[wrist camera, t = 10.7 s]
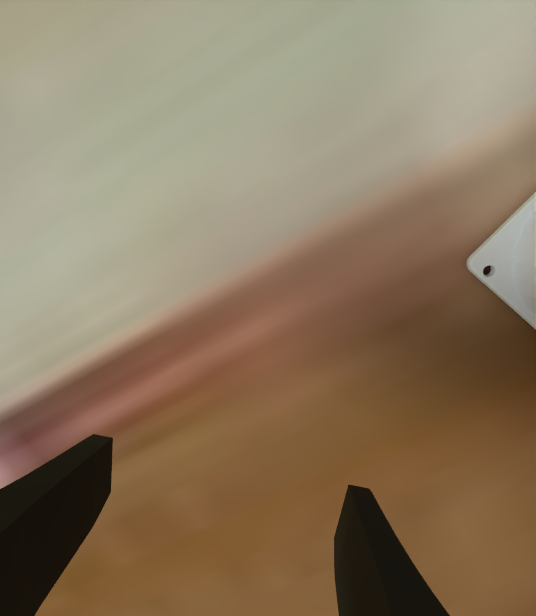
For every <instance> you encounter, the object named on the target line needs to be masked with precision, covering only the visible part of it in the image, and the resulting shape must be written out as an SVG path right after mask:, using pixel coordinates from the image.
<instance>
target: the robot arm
mask: <svg viewBox="0 0 536 616" xmlns="http://www.w3.org/2000/svg"><path fill="white" fill-rule="evenodd" d="M489 265H490V266H491V271H490V273H489V274H487V275H484V274H483V269H484V268H485V267H486V266H489ZM467 268H468V269H469V271H470V272H471V273H472V274H474V275H475V276H476V277H477V278H478V279H479V280H480V281H481V282H483V283H484V284H485V285H486V286H487V287H488V288H489V289H490V290H492V291H493V292H494V293H495V294H496V295H497V296H498V297H499V298H501V299H502V300H503V301H504V302H505V303H506V304H507V305H508V306H510V307H511V308H512V309H513V310H514V311H515V312H516V313H517V314H519V315H520V316H521V317H522V318H523V319H524V320H525V321H526V322H527V323H529V324H530V325H531V326H532V327H533V328H534V329H535V330H536V192H535V193H534V194H533V195H532V196H531V197H530V198H529V199H528V200H527V201H526V202H524V203H523V204H522V205H521V206H520V207H519V208H518V209H517V210H516V211H515V212H514V213H513V214H512V215H511V216H510V217H509V218H508V219H507V220H506V221H505V222H504V223H503V224H502V225H501V226H500V227H499V228H498V229H497V230H496V231H495V232H494V233H493V234H492V235H491V236H490V237H489V238H488V239H487V240H486V241H485V242H484V243H483V244H482V245H481V246H480V247H479V248H478V249H477V250H476V251H475V252H474V253H472V254H471V255H470V257H469V258H468V260H467ZM112 443H113V438H110V437H105V436H100V435H95V434H93V435H91V436H90V437H88V438H86V439H84V440H83V441H81V442H80V443H78V444H76V445H75V446H73V447H72V448H70V449H68V450H67V451H65V452H63V453H62V454H60V455H59V456H57V457H55V458H54V459H52V460H50V461H49V462H47V463H45V464H44V465H42V466H40V467H39V468H37V469H35V470H34V471H32V472H30V473H29V474H27V475H25V476H24V477H22V478H20V479H18V480H16V481H14V482H13V483H11V484H9V485H7V486H5V487H4V488H2V489H0V616H34V615H35V614H36V612H37V610H38V609H39V607H40V606H41V604H42V602H43V601H44V599H45V598H46V596H47V595H48V593H49V592H50V590H51V589H52V587H53V586H54V584H55V583H56V582H57V580H58V579H59V577H60V576H61V574H62V573H63V571H64V570H65V568H66V567H67V565H68V564H69V562H70V561H71V559H72V558H73V556H74V555H75V553H76V552H77V550H78V549H79V547H80V545H81V544H82V542H83V541H84V539H85V538H86V536H87V535H88V533H89V532H90V530H91V529H92V527H93V526H94V524H95V522H96V520H97V518H98V516H99V514H100V512H101V510H102V508H103V506H104V504H105V502H106V500H107V498H108V496H109V494H110V492H111V471H112ZM334 568H335V584H336V593H337V602H338V611H339V616H450V615H449V614H448V613H447V611H446V610H445V609H444V607H443V606H442V605H441V603H440V602H439V600H438V599H437V598H436V596H435V595H434V593H433V592H432V591H431V589H430V588H429V586H428V585H427V583H426V582H425V580H424V579H423V577H422V576H421V574H420V573H419V571H418V570H417V568H416V567H415V565H414V564H413V562H412V561H411V559H410V557H409V556H408V554H407V553H406V551H405V549H404V548H403V546H402V544H401V543H400V541H399V540H398V538H397V536H396V535H395V533H394V531H393V529H392V528H391V526H390V524H389V522H388V521H387V519H386V517H385V515H384V514H383V512H382V510H381V508H380V506H379V505H378V503H377V501H376V499H375V497H374V495H373V494H372V492H371V491H370V489H368V488H363V487H358V486H353V485H348V489H347V492H346V496H345V500H344V503H343V507H342V511H341V514H340V518H339V522H338V526H337V529H336V533H335V537H334Z"/></svg>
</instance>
